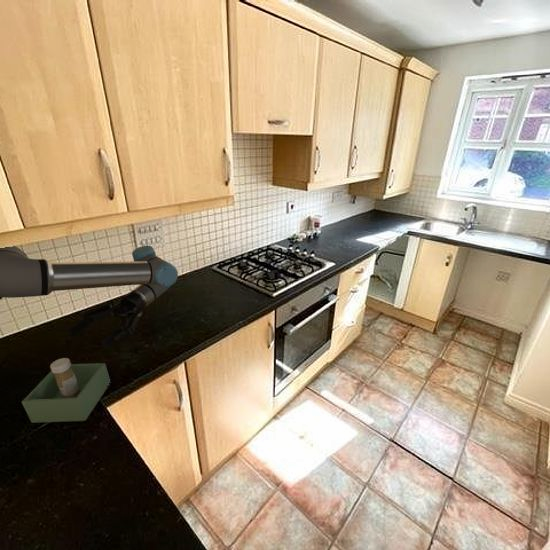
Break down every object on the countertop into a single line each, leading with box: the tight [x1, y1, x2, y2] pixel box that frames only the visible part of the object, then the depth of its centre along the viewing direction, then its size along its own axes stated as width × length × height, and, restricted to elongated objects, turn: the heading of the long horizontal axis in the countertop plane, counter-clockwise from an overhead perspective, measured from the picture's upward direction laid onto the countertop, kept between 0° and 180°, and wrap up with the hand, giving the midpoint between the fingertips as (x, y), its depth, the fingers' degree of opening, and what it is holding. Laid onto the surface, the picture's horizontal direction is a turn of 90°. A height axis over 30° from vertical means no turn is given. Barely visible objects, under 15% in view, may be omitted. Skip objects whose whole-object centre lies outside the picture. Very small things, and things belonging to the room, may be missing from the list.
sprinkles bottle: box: [49, 357, 80, 398], centre depth 86 cm, size 5×5×14 cm
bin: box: [21, 362, 112, 424], centre depth 87 cm, size 15×15×8 cm
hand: (85, 339), depth 91 cm, fingers open, 13 cm apart
